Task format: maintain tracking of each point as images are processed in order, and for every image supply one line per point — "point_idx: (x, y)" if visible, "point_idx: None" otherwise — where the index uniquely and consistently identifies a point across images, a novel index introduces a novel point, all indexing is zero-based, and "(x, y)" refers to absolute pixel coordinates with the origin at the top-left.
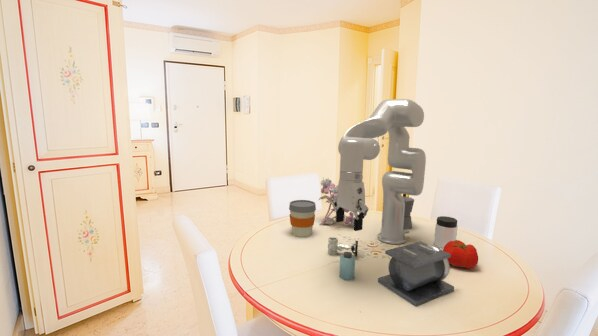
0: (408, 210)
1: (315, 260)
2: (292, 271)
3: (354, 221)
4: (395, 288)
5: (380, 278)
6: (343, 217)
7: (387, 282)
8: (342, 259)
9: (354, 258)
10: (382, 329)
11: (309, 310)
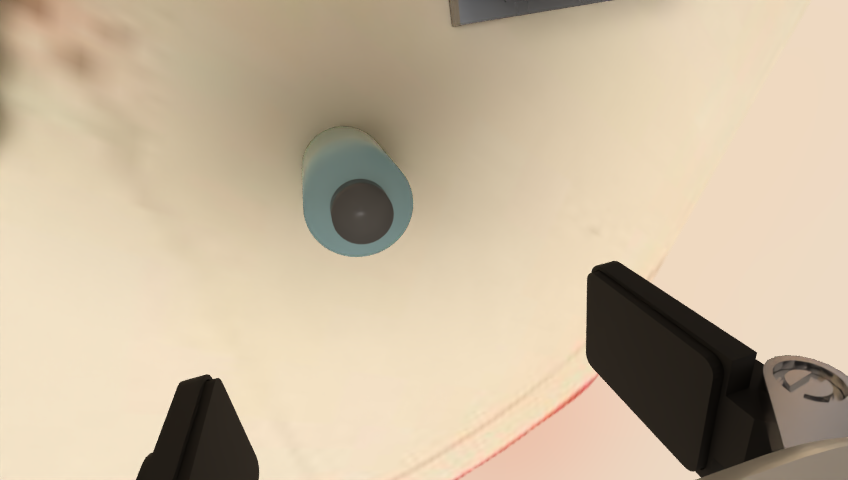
0: None
1: (87, 269)
2: None
3: (682, 447)
4: (583, 2)
5: (470, 13)
6: (212, 432)
7: (520, 1)
8: (378, 250)
9: (401, 173)
10: (690, 207)
11: (516, 379)
